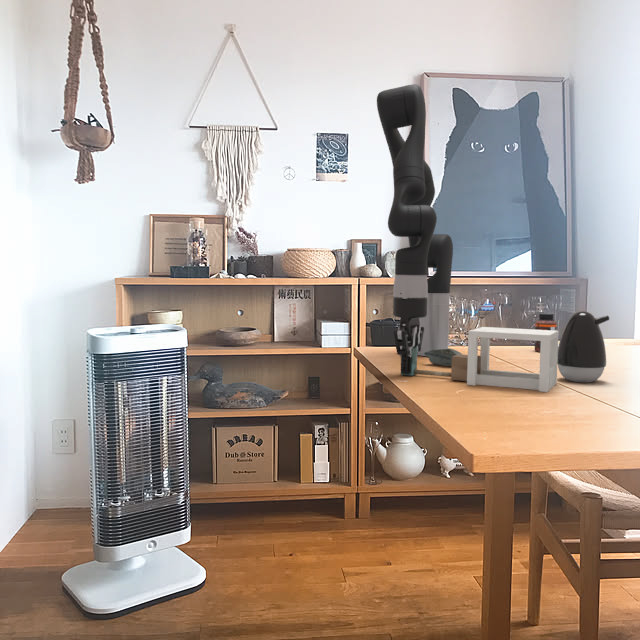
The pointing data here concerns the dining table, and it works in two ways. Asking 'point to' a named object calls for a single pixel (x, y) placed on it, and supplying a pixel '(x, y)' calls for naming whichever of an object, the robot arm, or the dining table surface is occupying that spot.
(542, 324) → the supplement bottle
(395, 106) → the robot arm
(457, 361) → the tethered block
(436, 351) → the stone
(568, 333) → the pump dispenser
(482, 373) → the white open frame stand
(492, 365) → the dining table surface
